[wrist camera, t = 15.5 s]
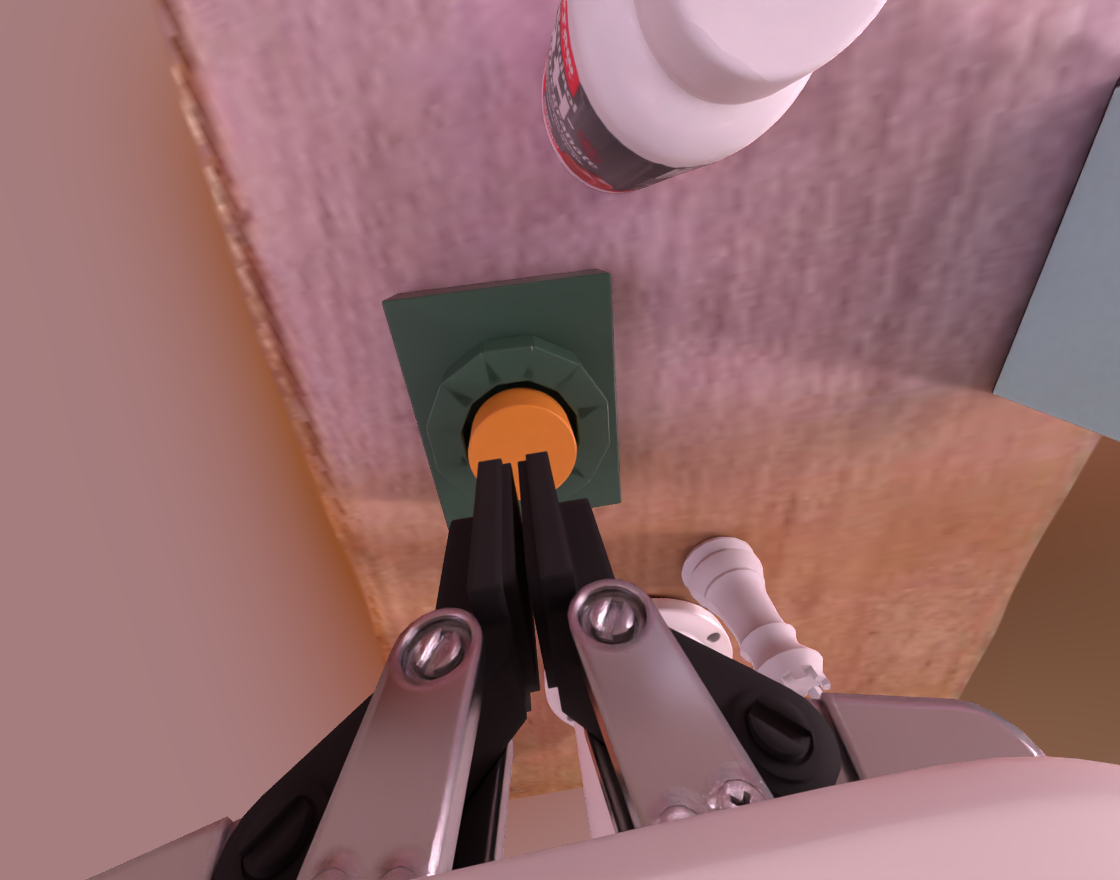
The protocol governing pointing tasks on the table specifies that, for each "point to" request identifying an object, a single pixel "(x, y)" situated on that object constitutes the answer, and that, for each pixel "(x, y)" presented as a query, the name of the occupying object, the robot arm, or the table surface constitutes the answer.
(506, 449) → the button
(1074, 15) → the table surface
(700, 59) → the pill bottle
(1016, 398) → the pale blue flat panel
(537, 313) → the button box
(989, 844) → the robot arm
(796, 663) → the rook chess piece
